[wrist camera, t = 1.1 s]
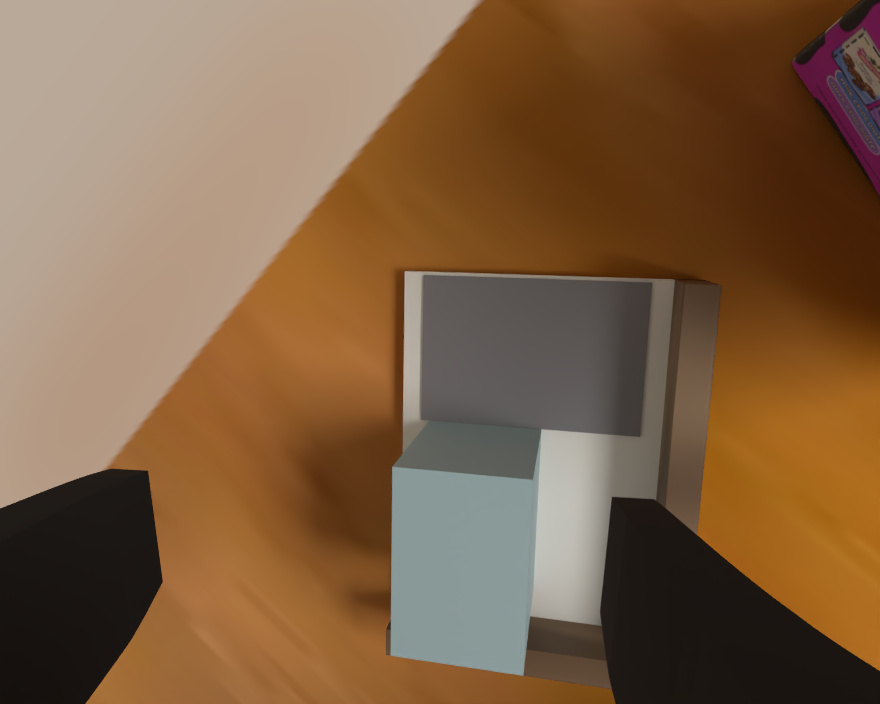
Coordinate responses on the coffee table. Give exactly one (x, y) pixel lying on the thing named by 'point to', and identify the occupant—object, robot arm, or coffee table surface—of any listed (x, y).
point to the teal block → (465, 545)
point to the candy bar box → (849, 81)
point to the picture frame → (570, 415)
